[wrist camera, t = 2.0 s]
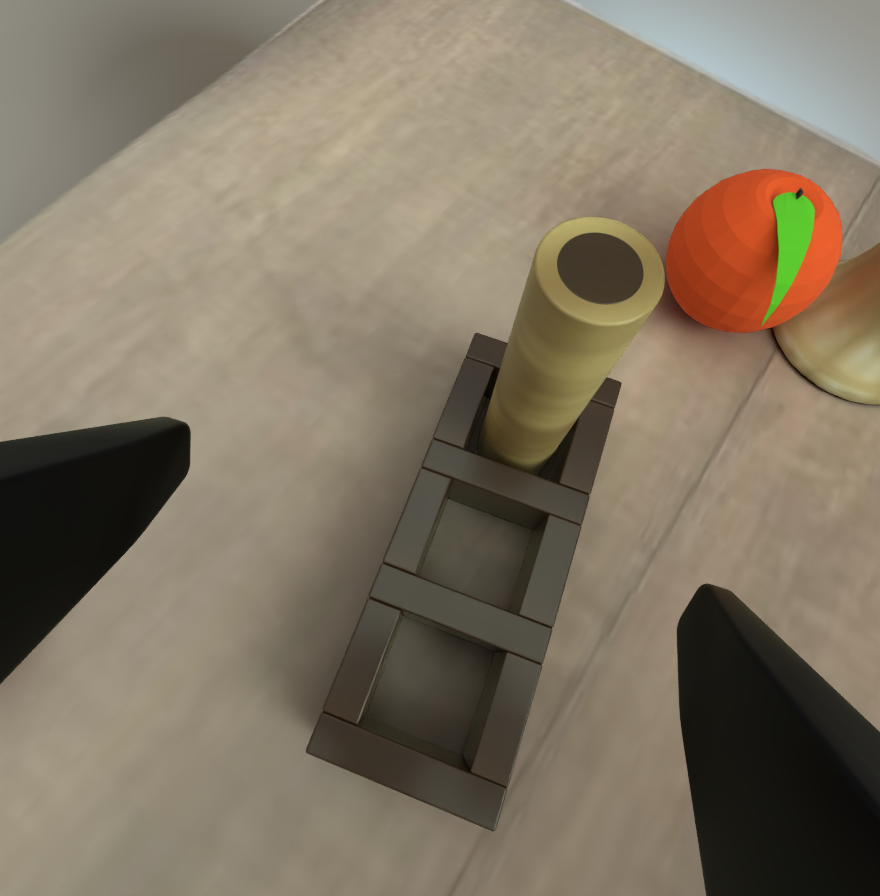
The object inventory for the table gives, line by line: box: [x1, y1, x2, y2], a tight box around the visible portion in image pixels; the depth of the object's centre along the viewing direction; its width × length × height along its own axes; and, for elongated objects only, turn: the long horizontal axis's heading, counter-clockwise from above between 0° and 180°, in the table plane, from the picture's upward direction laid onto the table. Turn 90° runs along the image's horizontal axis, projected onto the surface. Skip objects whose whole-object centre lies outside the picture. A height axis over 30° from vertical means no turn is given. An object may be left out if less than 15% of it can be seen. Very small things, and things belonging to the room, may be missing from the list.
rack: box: [306, 333, 621, 831], centre depth 22 cm, size 17×6×3 cm, turn 160°
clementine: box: [666, 169, 842, 333], centre depth 25 cm, size 8×7×7 cm
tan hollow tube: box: [478, 217, 665, 475], centre depth 19 cm, size 3×3×12 cm
